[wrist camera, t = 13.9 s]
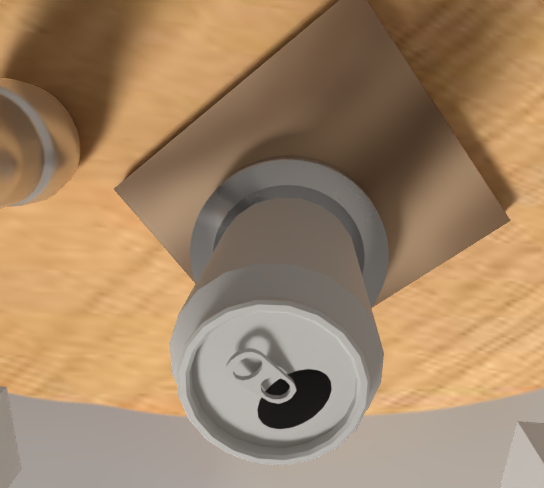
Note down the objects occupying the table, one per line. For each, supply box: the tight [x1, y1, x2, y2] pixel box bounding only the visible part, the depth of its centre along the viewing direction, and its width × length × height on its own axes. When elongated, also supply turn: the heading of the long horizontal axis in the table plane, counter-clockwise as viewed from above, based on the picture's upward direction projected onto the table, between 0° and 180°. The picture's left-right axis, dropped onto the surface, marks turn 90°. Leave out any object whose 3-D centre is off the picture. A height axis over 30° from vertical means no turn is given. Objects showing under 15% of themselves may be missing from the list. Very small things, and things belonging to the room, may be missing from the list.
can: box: [170, 197, 384, 465], centre depth 21 cm, size 8×8×12 cm
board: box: [114, 0, 510, 308], centre depth 28 cm, size 15×17×1 cm
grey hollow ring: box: [190, 155, 389, 307], centre depth 27 cm, size 11×11×2 cm
